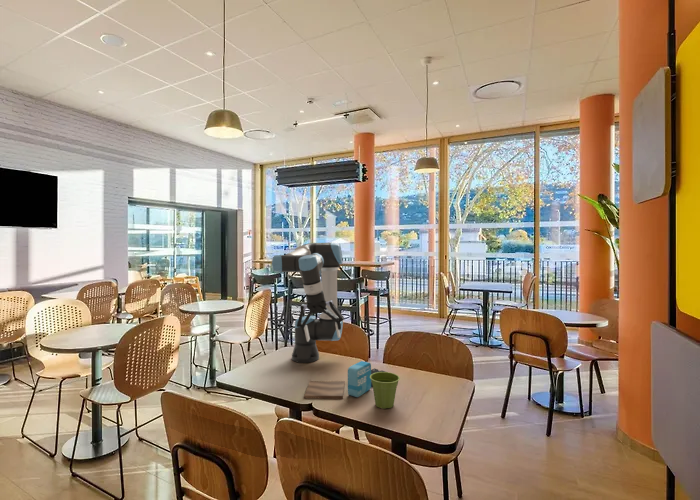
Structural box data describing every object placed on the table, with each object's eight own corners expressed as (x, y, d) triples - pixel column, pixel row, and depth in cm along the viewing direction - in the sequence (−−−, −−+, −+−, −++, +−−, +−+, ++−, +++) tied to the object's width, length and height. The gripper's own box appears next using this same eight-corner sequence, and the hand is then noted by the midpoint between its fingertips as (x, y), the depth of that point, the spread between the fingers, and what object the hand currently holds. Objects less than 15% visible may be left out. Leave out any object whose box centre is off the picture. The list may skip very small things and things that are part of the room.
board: (310, 383, 164) (310, 380, 164) (344, 383, 163) (344, 381, 163) (304, 398, 148) (304, 395, 148) (342, 398, 147) (342, 395, 147)
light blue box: (356, 398, 147) (356, 369, 147) (347, 396, 150) (347, 367, 150) (371, 388, 157) (371, 361, 157) (362, 386, 160) (362, 360, 160)
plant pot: (399, 413, 135) (399, 383, 135) (368, 410, 137) (368, 381, 137) (400, 399, 146) (400, 372, 146) (371, 397, 148) (371, 370, 148)
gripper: (283, 299, 147) (293, 345, 151) (342, 291, 144) (351, 339, 148) (287, 293, 154) (297, 337, 159) (344, 285, 151) (352, 330, 155)
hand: (323, 338), depth 153 cm, fingers open, 13 cm apart
